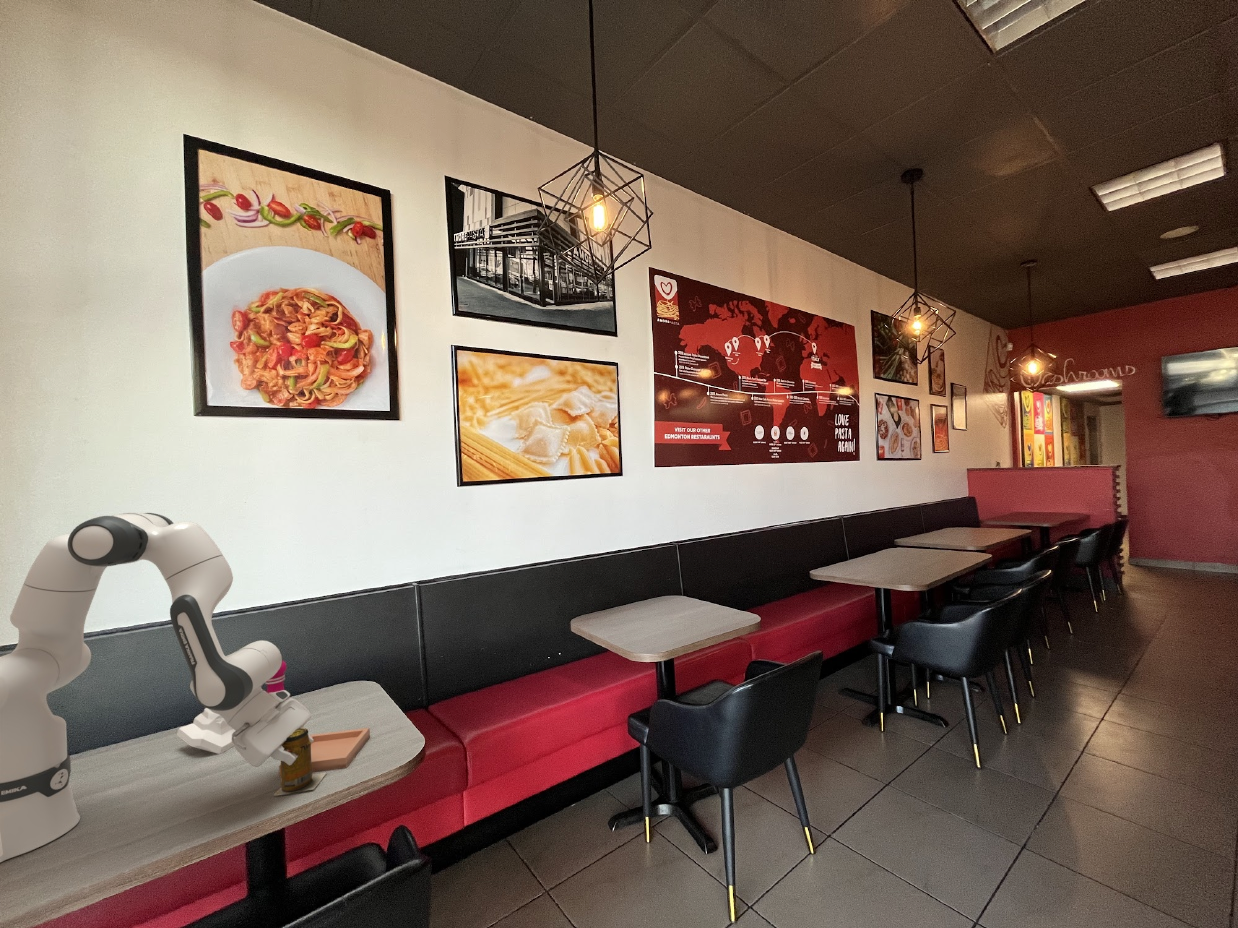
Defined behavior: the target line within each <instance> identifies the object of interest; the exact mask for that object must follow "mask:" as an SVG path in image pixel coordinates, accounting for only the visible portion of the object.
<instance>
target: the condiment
mask: <svg viewBox="0 0 1238 928" xmlns="http://www.w3.org/2000/svg"><path fill="white" fill-rule="evenodd" d="M308 734H309V729H307V727H305V728H299V729H296V730H295V731H294V732H293V733H292V734H291V735H290V736H289V737H287V739H286V741H285V742H284V743H283V744H282V747H283V748H284V751H287V752H289V753H292V752H294V753H295V754H296V755H298V758H297V759H296V760H295V761H294V762H293V763H292V764H291V765H288V764H287V763H285V762H284V761H280V765H281V766H280V767H281V776H280V785H281V787H280V788H278V789H277V791H276V792H275V793H274V794H273V795H272V797H274V796H275V797H276V796H284V795H290V794H295V793H301V792H306V791H311V790H312V791H313V790H315V788H317V787H318V785H319V784H320V782H321V781H322V780H323V778H324V777H325V776H326V775H327V772H325V771H324V772H318V773H317V772H316V773H313V772H312V764H311V742H310V740H309V736H310V734H309V735H308Z"/></svg>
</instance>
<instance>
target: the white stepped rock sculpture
mask: <svg viewBox="0 0 1238 928" xmlns="http://www.w3.org/2000/svg"><path fill="white" fill-rule="evenodd" d="M233 732H235V730H234V729H233V728H232V727H230V726H229V725H228V724H227V723H226V722H225V720H224V718H223V717H222V716H220V715H218V714H216V713H213V712H212V711H211V710H209V709H208V708H206V707H204V710H203V712H200V714H197V716H195V718H194V719H193V723H190V724H187V725H184V726H181V727H179V728H178V730H177V734H176V736H177V737H179V738H180V739H181V740H183V741H184V742H185V743H186V744H187V745H189V746H190V747H193V748H197V749H199V750H203V751H206V752H211V753H213V754H218V755H221V754H222V753H224V752H226V751H227V750H230V749H231V748H232V747H235V745H234V744H233V743H232V734H233ZM234 738H235V737H234Z"/></svg>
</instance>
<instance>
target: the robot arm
mask: <svg viewBox="0 0 1238 928" xmlns="http://www.w3.org/2000/svg"><path fill="white" fill-rule="evenodd" d="M142 560H143V561H148V562H151V563H152V564H154V565H155V566H156V567H157V569H158V570H159V572H160V574H161V575H162V578H163V579H164V581H165V582H166V584H167V586H168V588H169V592H170V595H171V599H172V600H171V601H172V602H171V605H170V608H169V616H170V617H169V618H170V620H171V624H172V626H173V627H172V628H173V630H174V634H175V636H176V638H177V641H178V644H179V645H180V648H181V651H182V653H183V655H184V656H183V657H184V658H185V661H186V665H187V666H188V670H189V672H190V675H191V681H190V683H189V688H190V690H191V691H192V694H193V695H194V697H195V698H196V700H197V702H198V703H199V704H200V705H201V706H203V707H204V708H208V709H209V710H211V711H212V712H213V713H216V714H218V715H220V716H222V717H223V718H224V720H225V722H226V723H227V724H228V725H229V726H230V727H232V728H233V729H234V730H235V732H233V734H232V743H233V744H234V747H235V749H236V751H237V753H239V754H240V756H241V757H242V758H243V759H244V760H245V761H246V762H247V763H248V764H249V765H250V766H251V767H255V768H256V767H257V768H259V767H261V766H262V765H263V764H264V763H265V762H266V761H268V760H269V759H270V758H271V759H273V760H275V761H280V762H281V761H284V762H285V763H287V764H288V765H291V764H292V763H293V762H294V761H295V760H296V759H297V758H298V755H296V754H295V753H294V752H292V753H289V752H287V751H284V748H283V747H282V744H283V743H284V742H285V741H286V739H287V737H289V736H290V735H291V734H292V733H293V732H294V731H295V730H296V729H299V728H306V726H305V725H306V724H307V722H308V721H309V720H311V718H312V715H311V712H310V711H309V710H308V708H306V707H305V705H303V704H302V703H301V702H300V701H298V700H297V699H295V698H293V697H291V693H290V692H289V691H287V690H282V691H278V692H270V693H267V690H265V689H263V688H262V686H263V685H264V684H266V683H265V682H266V681H268V680H269V679H270V678H272V677H273V676H274V675H275V674H276V673H277V671H278V670H279V669H280V668H281V666H282V661H284V660H283V653H282V652H281V649H280V648H279V647H278V646H277V645H276V644H275V643H274V642H272V641H269V640H266V639H264V640H263V639H259V640H256V641H253V642H251V643H248V644H247V645H245V646H243V647H241V648H239V649H238V650H236V651H235V652H233V653H230V654H228V655H225V654H224V652H223V649H222V647H221V644H220V642H219V639H218V637H217V634H216V632H215V629H214V626H213V624H212V617H213V613H214V611H215V609H216V608H217V606H218V604H219V603H220V602H221V601H222V600H223V599H224V598H225V597H226V595H227V594H228V592H229V591H230V589H231V587H232V585H233V581H234V580H233V579H234V576H233V571H232V568H231V566H230V564H229V563H228V560H226V557H225V556H224V554H223V552H222V551H221V549H220V548H219V547H218V545H217V544H216V542H215V541H214V539H212V537H211V536H210V535H209V533H207V532H206V531H205V530H204V528H203V527H201V525H199V524H198V523H195V522H191V521H179V522H173V521H172V520H171V519H170V518H168V517H166V516H164V515H162V514H158V513H152V512H145V513H144V512H143V513H142V512H125V513H119V514H114V515H100V516H97V517H94V518H90V519H88V520H85V521H84V522H81V523H80V524H78V525H77V526H76V527H75V528H73V530H72V531H71V533H65V534H60V535H57V536H54V537H53V538H51V539H50V540H48V541H47V542H46V543H45V545H44V546H43V548H41V550H40V552H39V554H38V555H37V556H36V557H35V559H34V561H33V563H32V565H31V567H30V569H29V571H28V573H27V575H26V577H25V579H24V582H23V584H22V586H21V589H20V591H19V593H18V596H17V599H16V601H15V603H14V606H13V609H12V611H11V613H10V616H9V620H10V623H11V625H13V627H15V628H17V630H18V642H17V645H16V647H15V649H14V650H13V651H12V652H10V653H7V654H4V655H1V656H0V863H2V862H4V861H6V860H9V859H11V858H15V857H18V856H20V855H23V854H26V853H28V852H31V851H33V850H35V849H38V848H39V847H42V846H44V845H47V844H49V843H51V842H52V841H55V840H56V839H58V838H60V837H61V836H63V835H64V834H66V833H68V832H70V831H71V830H72V829H73V828H74V827H76V826H77V824H78V823H79V822H80V820H81V816H80V814H79V811H78V808H77V804H75V800H74V795H73V791H72V787H71V780H70V778H71V771H72V767H71V766H72V765H71V763H72V760H71V756H70V754H68V740H67V739H68V737H67V722H66V720H65V719H64V718H63V717H61V716H59V715H55V714H53V711H51V709H50V707H49V705H48V700H47V696H48V694H50V693H52V692H55V691H56V690H58V689H61V688H63V687H65V686H67V685H68V684H70V683H71V682H72V681H73V680H75V679H77V678H78V676H80V675H81V674H83V672H85V671H86V670H87V668H88V667H89V665H90V663H91V660H92V652H91V650H90V648H89V646H88V645H87V644H86V643H85V639H84V632H85V630H84V629H85V623H86V620H87V616H88V613H89V610H90V608H91V605H92V602H93V599H94V597H95V595H96V593H97V589H98V587H99V584H100V581H101V578H102V575H103V573H104V572H105V570H106V569H107V568H108V567H112V566H118V565H119V566H120V565H126V564H131V563H136V562H138V561H142ZM288 697H289V698H288ZM308 735H309V740H310V742H311V744H312V742H313V741H314V739H313V738H311V737H310V734H309V733H308ZM234 737H235V738H234Z"/></svg>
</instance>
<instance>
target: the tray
mask: <svg viewBox="0 0 1238 928" xmlns="http://www.w3.org/2000/svg"><path fill="white" fill-rule="evenodd" d="M370 730H371V729H370V727H366V728H359V729H358V728H356V729H349V730H341V731H340V730H338V731H331V732H325V733H315V734H309V736H310V737H311V738H313V739H314V741H313V742H312V744H311V764H312V773H317V772H318V773H319V772H325V771H332V770H333V771H334V770H342V769H346V768H348V766H349V765H350V763H352V761H353V760H354V759H355V758H356V756H357V754H358V753H359V752H360V751H361V750H362V749H363V747H364V746H365V744H366V743H367V741H368V740H369V739H370V737H371V734H370V733H371V732H370ZM280 766H281V764H279V766H278V772H279V773H278V774H279V777H281V767H280Z"/></svg>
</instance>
